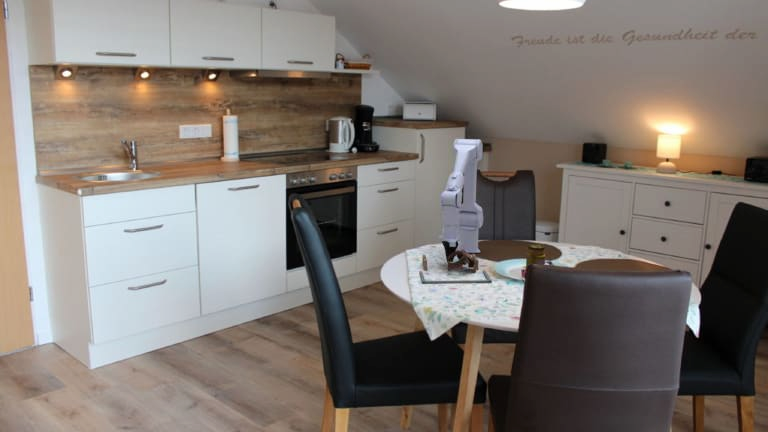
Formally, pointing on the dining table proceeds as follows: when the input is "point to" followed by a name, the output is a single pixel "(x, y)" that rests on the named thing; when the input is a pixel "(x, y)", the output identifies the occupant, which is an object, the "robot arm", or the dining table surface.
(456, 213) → the robot arm
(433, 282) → the frame
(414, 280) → the dining table surface
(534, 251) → the condiment
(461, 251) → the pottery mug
